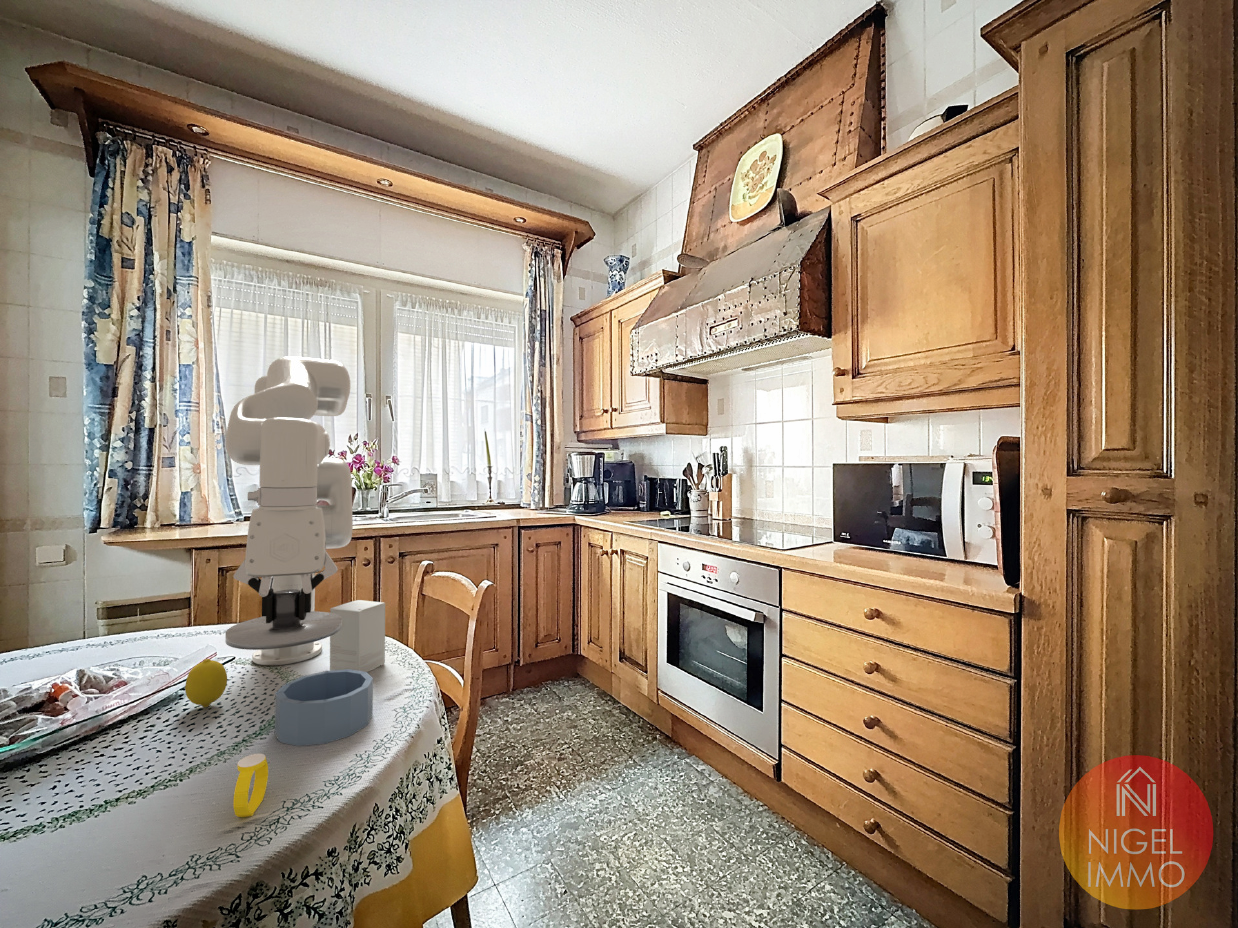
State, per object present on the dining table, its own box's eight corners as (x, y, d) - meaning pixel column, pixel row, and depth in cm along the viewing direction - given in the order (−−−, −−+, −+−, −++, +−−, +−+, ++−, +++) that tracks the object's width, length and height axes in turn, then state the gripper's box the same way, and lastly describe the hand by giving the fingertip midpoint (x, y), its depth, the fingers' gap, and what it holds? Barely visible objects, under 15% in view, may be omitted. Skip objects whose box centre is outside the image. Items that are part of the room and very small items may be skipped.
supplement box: (386, 663, 110) (387, 602, 110) (357, 677, 103) (358, 611, 103) (357, 659, 112) (358, 598, 112) (327, 671, 105) (328, 607, 105)
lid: (254, 620, 88) (255, 582, 88) (353, 616, 91) (354, 580, 91) (202, 652, 73) (203, 606, 73) (322, 646, 76) (323, 602, 76)
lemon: (204, 716, 86) (204, 666, 86) (176, 712, 87) (176, 663, 87) (235, 701, 92) (235, 654, 92) (208, 698, 93) (209, 651, 93)
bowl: (294, 708, 89) (295, 672, 89) (378, 702, 92) (379, 667, 92) (261, 749, 77) (261, 707, 77) (359, 740, 79) (360, 699, 79)
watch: (254, 825, 61) (253, 775, 61) (226, 828, 60) (225, 778, 60) (274, 790, 67) (274, 744, 67) (249, 793, 66) (249, 746, 66)
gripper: (215, 501, 75) (213, 632, 75) (347, 500, 82) (346, 620, 82) (229, 498, 82) (227, 618, 82) (350, 497, 89) (348, 608, 89)
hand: (286, 617), depth 82 cm, fingers closed on lid, 3 cm apart
